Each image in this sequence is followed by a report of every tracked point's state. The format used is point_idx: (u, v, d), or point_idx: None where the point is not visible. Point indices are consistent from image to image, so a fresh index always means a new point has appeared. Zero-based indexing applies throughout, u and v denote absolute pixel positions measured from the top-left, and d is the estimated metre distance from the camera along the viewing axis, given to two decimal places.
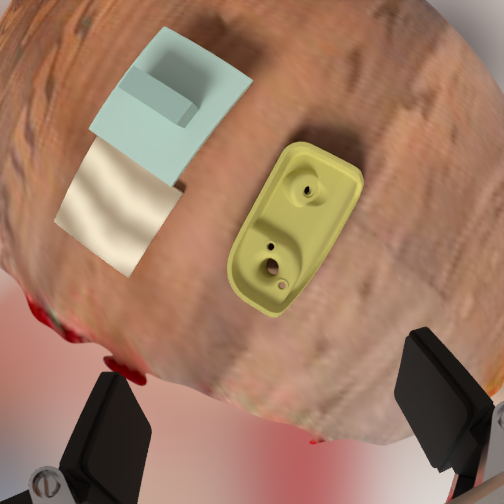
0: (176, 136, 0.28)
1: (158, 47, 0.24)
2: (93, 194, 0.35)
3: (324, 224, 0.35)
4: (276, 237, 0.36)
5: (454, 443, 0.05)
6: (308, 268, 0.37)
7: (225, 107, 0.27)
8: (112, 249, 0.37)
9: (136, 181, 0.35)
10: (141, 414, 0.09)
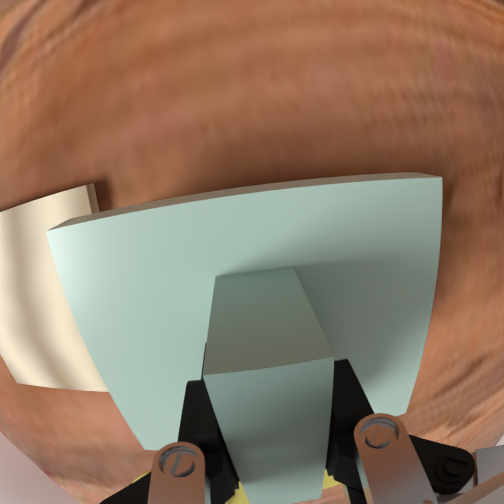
0: None
1: (386, 219, 0.09)
2: (18, 268, 0.15)
3: None
4: None
5: None
6: None
7: None
8: (11, 346, 0.17)
9: None
10: None
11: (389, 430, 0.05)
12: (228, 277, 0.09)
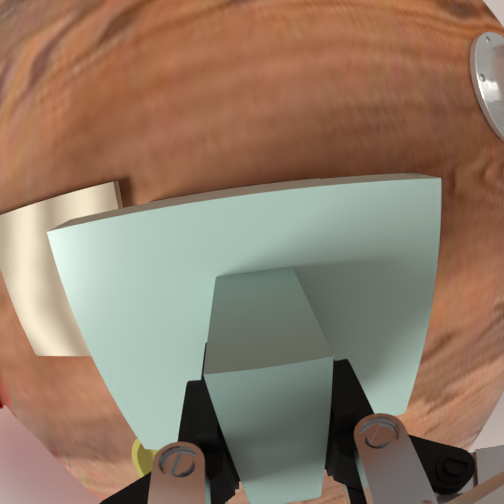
0: None
1: (385, 219, 0.09)
2: (49, 249, 0.20)
3: None
4: None
5: (327, 447, 0.06)
6: None
7: None
8: (35, 320, 0.21)
9: None
10: None
11: (389, 430, 0.05)
12: (228, 277, 0.09)
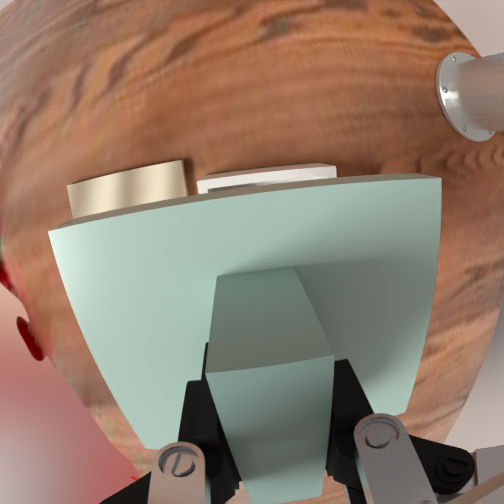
0: None
1: (386, 219, 0.09)
2: None
3: None
4: None
5: None
6: None
7: None
8: None
9: None
10: None
11: (389, 429, 0.05)
12: (229, 277, 0.09)
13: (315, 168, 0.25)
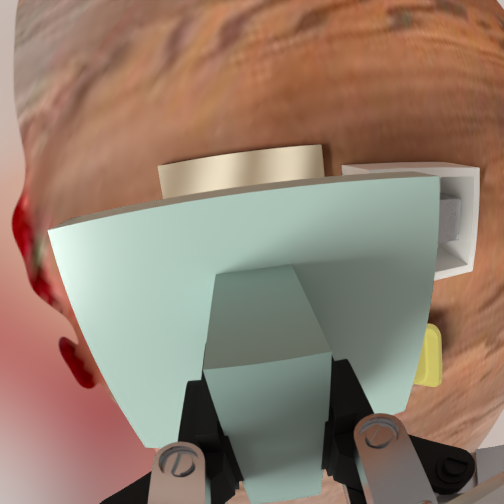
0: None
1: (384, 217, 0.09)
2: None
3: None
4: None
5: (327, 447, 0.06)
6: None
7: None
8: None
9: None
10: None
11: (389, 430, 0.05)
12: (228, 275, 0.09)
13: (466, 168, 0.20)
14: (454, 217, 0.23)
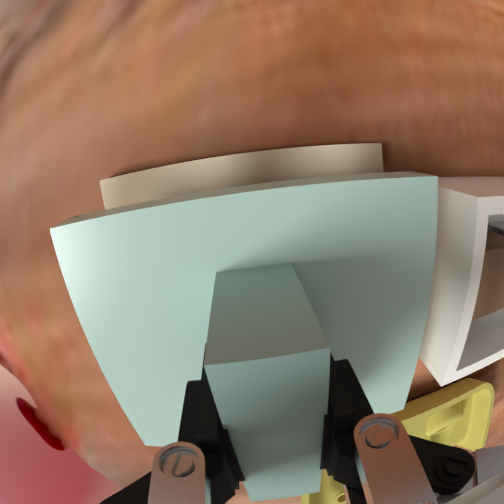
0: None
1: (383, 217, 0.09)
2: None
3: None
4: None
5: (327, 447, 0.06)
6: None
7: None
8: None
9: None
10: None
11: (389, 430, 0.05)
12: (228, 273, 0.09)
13: None
14: None
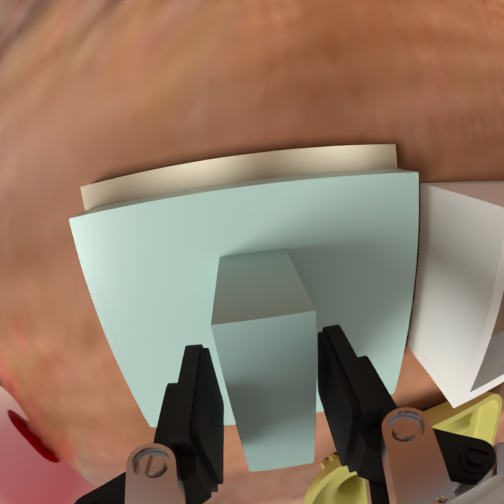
0: None
1: (367, 208, 0.11)
2: None
3: None
4: None
5: (351, 443, 0.06)
6: None
7: None
8: None
9: None
10: (218, 387, 0.10)
11: (415, 424, 0.05)
12: (230, 257, 0.11)
13: None
14: None
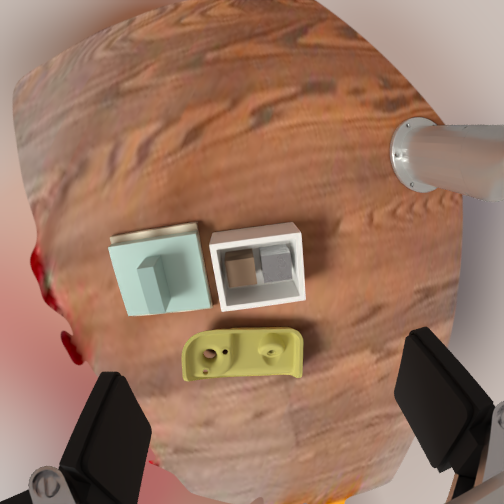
0: None
1: (180, 244, 0.42)
2: None
3: (256, 372, 0.49)
4: (232, 351, 0.48)
5: (454, 443, 0.05)
6: (222, 375, 0.49)
7: (184, 308, 0.45)
8: None
9: None
10: (141, 414, 0.09)
11: None
12: (147, 257, 0.42)
13: (287, 234, 0.39)
14: (285, 265, 0.41)
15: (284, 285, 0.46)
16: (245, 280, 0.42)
